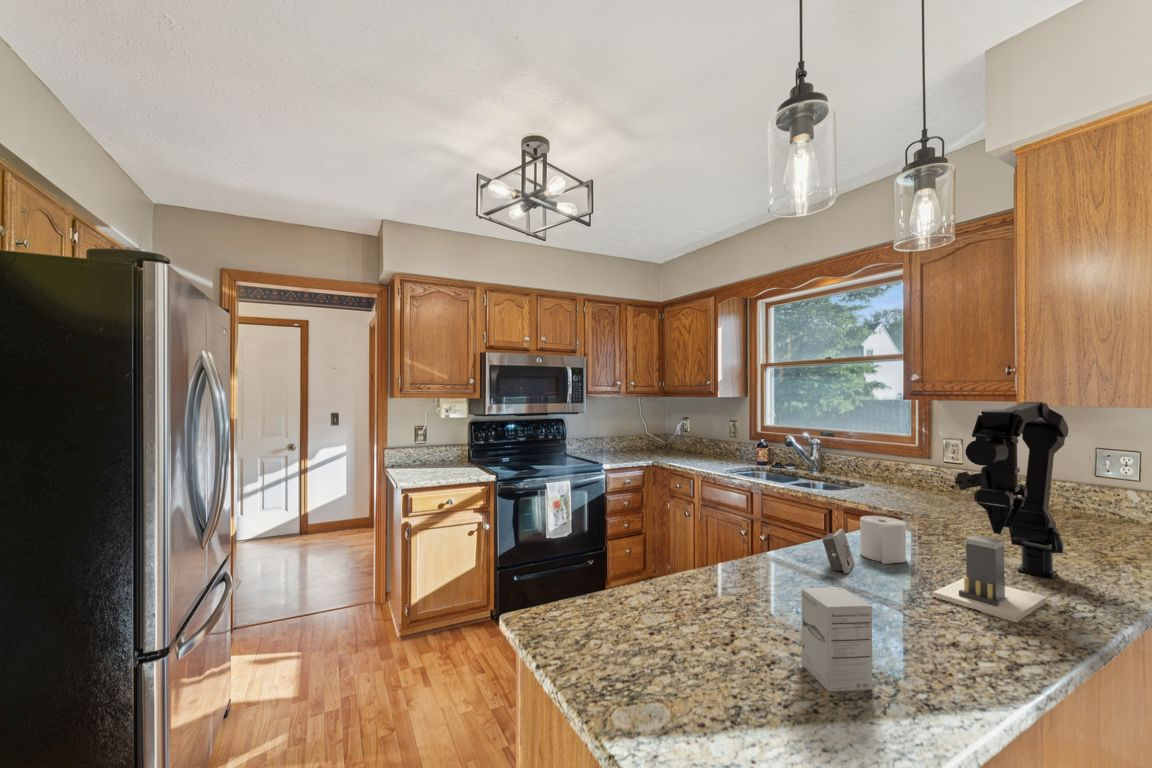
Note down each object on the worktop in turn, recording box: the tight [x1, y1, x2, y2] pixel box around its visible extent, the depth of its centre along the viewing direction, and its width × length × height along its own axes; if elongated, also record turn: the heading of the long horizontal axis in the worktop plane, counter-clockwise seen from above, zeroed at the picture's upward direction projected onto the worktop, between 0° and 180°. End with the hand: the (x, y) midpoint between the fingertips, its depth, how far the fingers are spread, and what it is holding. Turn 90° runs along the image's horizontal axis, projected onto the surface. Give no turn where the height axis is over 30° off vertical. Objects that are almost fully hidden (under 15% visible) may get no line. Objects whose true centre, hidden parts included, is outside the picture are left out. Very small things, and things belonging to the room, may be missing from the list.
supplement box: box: [801, 586, 873, 693], centre depth 76 cm, size 7×7×13 cm
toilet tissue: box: [859, 515, 907, 564], centre depth 134 cm, size 11×12×10 cm
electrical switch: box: [822, 528, 855, 575], centre depth 126 cm, size 9×5×9 cm, turn 141°
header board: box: [932, 576, 1048, 623], centre depth 106 cm, size 18×14×5 cm
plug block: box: [965, 534, 1006, 601], centre depth 105 cm, size 5×5×12 cm
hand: (1001, 530), depth 114 cm, fingers open, 9 cm apart
